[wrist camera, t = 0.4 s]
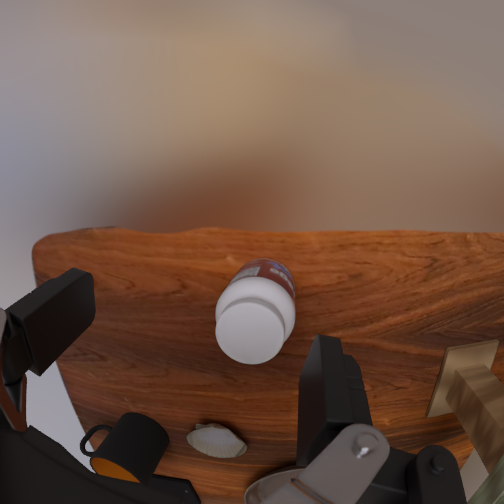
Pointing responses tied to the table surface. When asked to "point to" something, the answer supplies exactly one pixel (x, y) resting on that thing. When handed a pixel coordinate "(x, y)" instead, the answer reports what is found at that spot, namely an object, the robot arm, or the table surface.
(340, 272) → the table surface
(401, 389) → the table surface
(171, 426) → the table surface
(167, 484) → the cell phone
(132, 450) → the mug
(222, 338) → the pill bottle
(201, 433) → the seashell
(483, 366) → the tray
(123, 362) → the table surface
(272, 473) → the plant saucer
